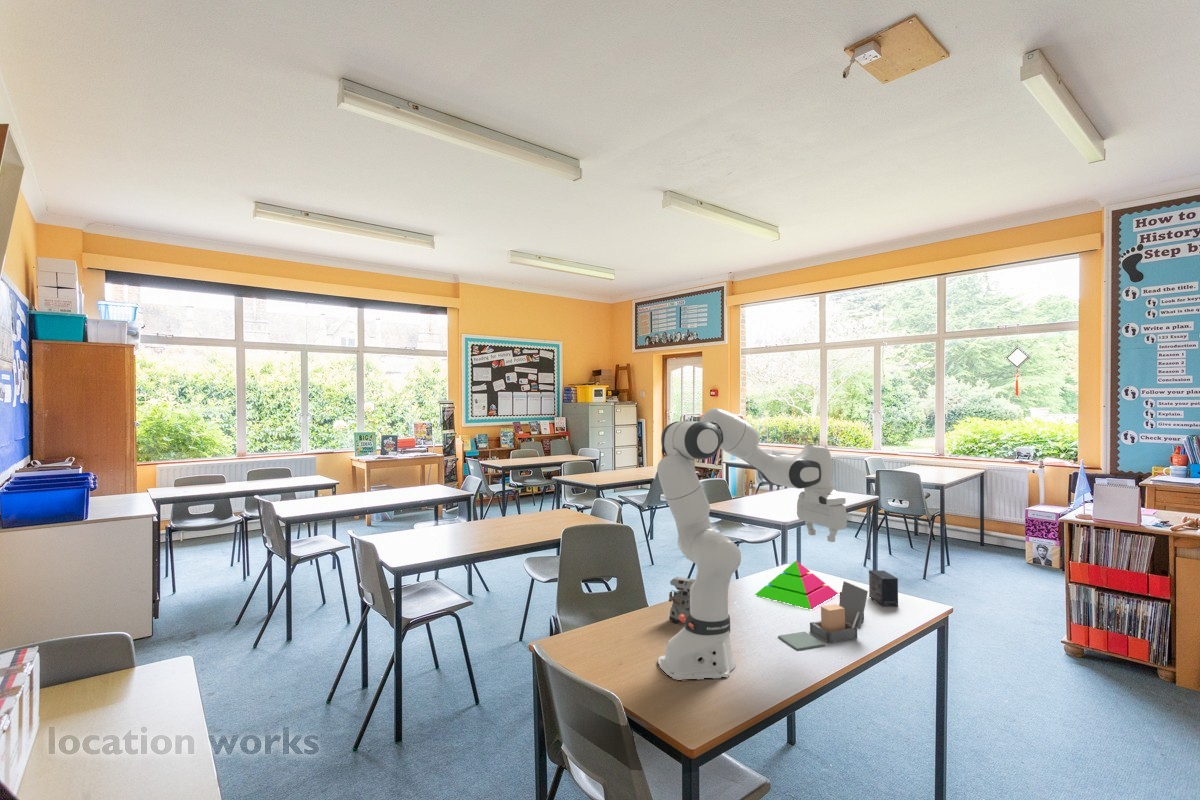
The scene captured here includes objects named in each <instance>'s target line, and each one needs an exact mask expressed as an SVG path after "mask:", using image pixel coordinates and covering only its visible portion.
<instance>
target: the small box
mask: <svg viewBox="0 0 1200 800" xmlns="http://www.w3.org/2000/svg"><path fill="white" fill-rule="evenodd" d="M868 579H869V580H868V583H869V584H868V585H869V586H868V593H869V594H868V597H869V598H870V597H871V598H872V600H873V601H874V600H875V601H876V602H875V601H874V602H875V603H876V604H878V605H880V606H881V607H899V585H898V584H899V578H898V577H896V576H894V575H893V574H891V573H890V572H888V571H885V570H876V569H875V570H872V569H870V570H868ZM871 598H870V599H871Z"/></svg>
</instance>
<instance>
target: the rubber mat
mask: <svg viewBox="0 0 1200 800" xmlns="http://www.w3.org/2000/svg"><path fill="white" fill-rule="evenodd" d="M777 637H778V639H779V640H781V641H783V642H784V643H786V644H787V645H789V646H791V648H793V649H794V650H796V651H802V650H808V649H813V648H814V649H815V648H821V647H825V646H826V644H825V643H824V642H823V641H821V640H820V639H818V638H816V637H815V636H813V635H811V634H809V633H808V632H807V631H800V632H793V633H788V634H787V633H786V634H781V635H780V634H779V635H778V636H777Z"/></svg>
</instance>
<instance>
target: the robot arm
mask: <svg viewBox="0 0 1200 800" xmlns="http://www.w3.org/2000/svg"><path fill="white" fill-rule="evenodd" d="M660 443H661V447H662V448H661V454H662V456H663V458H661V459H660V461H659V462H658V463H657V466H656V467H657V468H656V469H657V470H656V471H657V475H658V479H659V483H660V486H661V489H662V492H663V496H664V497H665V498H664V499H665V500H666V502H667V505H668V506H669V509H670V511H671V514H672V517H673V519H674V522H675V525H676V530H677V534H678V535H677V536H678V537H677V547H678V549H679V551H680V552H681V553H682V554H683V556H684V557H685V558H686V559H687V560H688V561H690V562H692V563H694V564H695V565H696V570H697V571H696V576H695V579H694V580H695V582H694V583H693V584H692V585H691V587H690V613H689V615H688V617H686V616H684V615H683V614H680V615H679V620H680V623H682V624H684V626H683V628H681V629H680V630H679V632H677V633H676V634H675V635H674V636H672V638H670V639H669V640H668V641H667V642H666V643H667V644H666V646H665V652H664V653H665V654H664V655H661V656H659V657H658V659H657V665H658V664H659V666H660V667H659V666H658V667H659V669H660V668H661V669H662V670H663V671H664V672H665V673H666V674H667V675H669V676H670V677H672V678H674V679H678V680H681V679H697V680H705V679H704V678H713V679H722V678H721V677H726V678H728V676H729V677H730V673H731V672H732V671H733V669H734V668H735V667H736V662H735V658H734V654H733V650H732V645H731V643H732V642H731V638H730V637H731V635H730V634H731V617H730V616H731V615H730V613H729V589H730V584H731V583H730V582H731V579H732V576H733V574H734V573H736V571H737V570H738V569H739V567H740V565H741V562H742V553H741V550H740V548H739V547H738V545H737V544H736V543H735V542H734V541H733V540H731V539H730V537H727V536H726V535H723V534H721V533H719V532H716V531H715V529H714V528H713V526H712V524H711V519H710V512H711V505H710V502H709V501H708V498H707V495H706V493H705V491H704V488H703V486H702V483H701V481H700V479H699V477H698V475H697V473H696V472H697V471H696V467H695V465H696V460H706V459H710V458H712V457H714V456H715V455H716V454H717V453H718V452H719V449H721V450H722V451H724V452H725V453H728V454H729V455H732V456H734V457H735V458H739V459H741V460H742V461H744V462H746V463H747V464H749V465H750V466H751V467H753V468H754V469H756V470H757V471H758V472H759V474H760V475H761V477H762V478H763V479H764V480H765V482H766V483H768V484H769V485H773V486H781V487H788V488H792V489H798V490H800V489H803V490H804V491H801V492H800V493H799V494H798V499H797V503H796V516H797V518H798V519H799V520H802V521H804V523H805V526H806V528H807V534H808V535H809V536H816V533H817V532H816V529H815V528H814V524H815V525H818V526H821V527H826V528H828V531H829V535H827V537H826V538H827V541H828V542H829V543H835V542H836V536H837V534H838V531H842V530H845V529H846V528H847V526H848V525H847V523H848V518H847V509H846V507H845V504H846V497H845V496H844V495H842V494H841V493H839V492H838V491H836V490H835V489H834V483H833V461H832V456H831V455H832V454H831V452H830V450H829V449H828V447H826V446H823V445H822V446H821V445H811V444H808V445H804V446H803V448H802V450H801V451H799V453H797V454H795V455H794V456H786V455H785V456H784V455H779V454H774V453H773V454H771V453H768V452H767V451H765V450H764V449H762V448H761V447H759V444H760V434H759V431H758V430H757V429H756V428H755V427H754V425H752V424H750V423H749V422H747V421H746V420H744V419H743V418H741V417H739V416H737V415H735V414H734V413H731V412H729V411H727V410H724V409H721V408H717V407H713V408H710V409H708V410H707V411H705V412H704V414H703V415H702V417H701V418H700V420H699V421H693V420H683V421H674V422H670V423H669V424H667V426H666V427H664V428H663V430H662V433H661V438H660ZM661 669H660V670H661ZM662 670H661V671H662ZM663 671H662V672H663ZM664 672H663V673H664ZM665 673H664V674H665ZM666 674H665V675H666ZM667 675H666V676H667ZM670 677H669V678H670ZM672 678H671V679H672ZM674 679H673V680H674Z"/></svg>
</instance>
